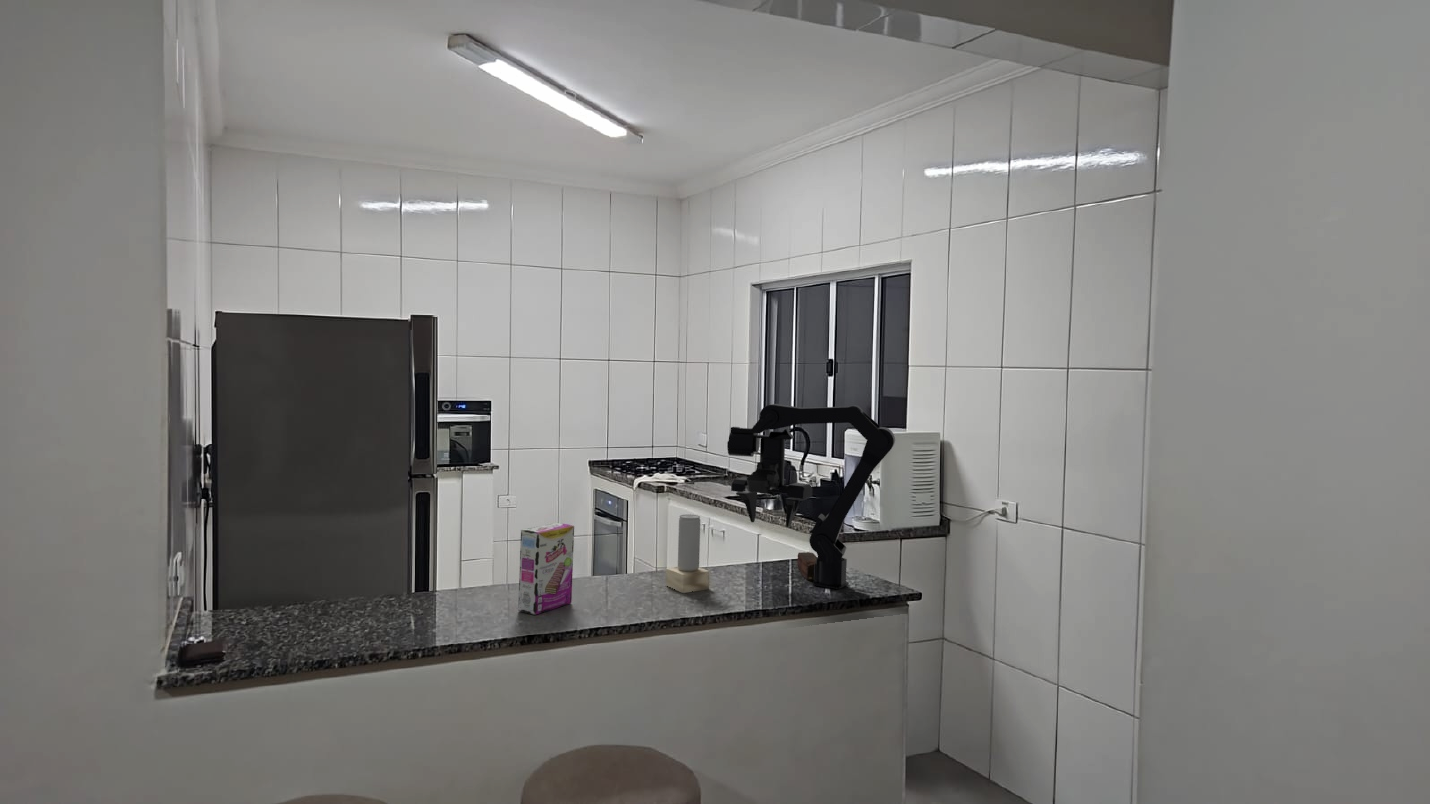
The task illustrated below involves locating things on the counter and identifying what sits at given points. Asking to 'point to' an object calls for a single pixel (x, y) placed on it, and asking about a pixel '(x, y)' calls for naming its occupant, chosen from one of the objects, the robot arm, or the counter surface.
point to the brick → (806, 564)
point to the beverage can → (689, 543)
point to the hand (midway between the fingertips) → (770, 524)
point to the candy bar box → (545, 568)
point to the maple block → (687, 579)
